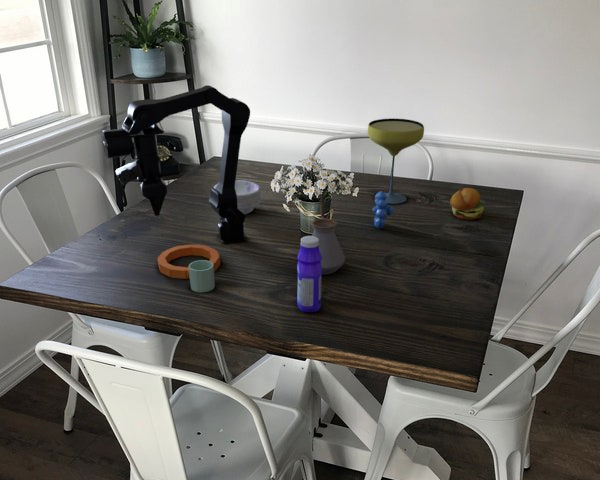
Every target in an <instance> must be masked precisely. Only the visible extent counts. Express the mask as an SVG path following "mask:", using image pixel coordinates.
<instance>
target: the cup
mask: <svg viewBox="0 0 600 480" xmlns="http://www.w3.org/2000/svg"><path fill="white" fill-rule="evenodd" d="M188 267H189V276H190V279H189V286H190V290H191V291H193V292H195V293H208V292H211V291H212V290H214V289H215V287H216V282H215V280H216V279H215V272H214V265H213V263H212V262H210V261H209V260H206V259H204V260H203V259H199V260H194V261H192V262H190V263H189V264H188Z"/></svg>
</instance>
